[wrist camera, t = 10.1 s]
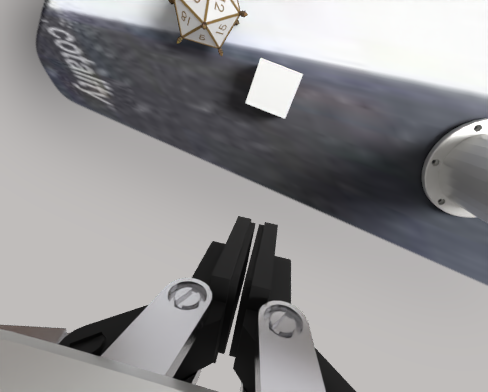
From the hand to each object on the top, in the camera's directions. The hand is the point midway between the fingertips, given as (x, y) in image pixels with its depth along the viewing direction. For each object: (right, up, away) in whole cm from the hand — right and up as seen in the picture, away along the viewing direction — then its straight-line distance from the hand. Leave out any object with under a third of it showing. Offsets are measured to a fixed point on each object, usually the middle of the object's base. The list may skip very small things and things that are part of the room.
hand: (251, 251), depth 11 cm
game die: (-4, +25, +21) cm, 33 cm away
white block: (+4, +16, +23) cm, 28 cm away
